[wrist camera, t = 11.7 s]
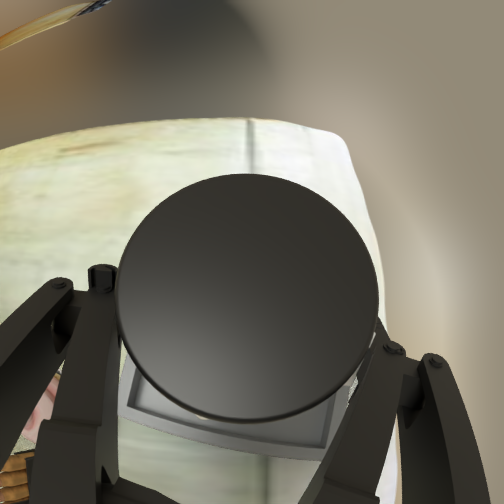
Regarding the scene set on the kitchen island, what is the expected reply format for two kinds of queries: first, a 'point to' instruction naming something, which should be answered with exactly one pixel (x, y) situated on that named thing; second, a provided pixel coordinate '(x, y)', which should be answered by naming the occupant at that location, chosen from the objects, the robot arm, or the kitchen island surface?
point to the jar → (246, 299)
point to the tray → (233, 435)
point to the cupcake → (42, 409)
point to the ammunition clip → (16, 477)
